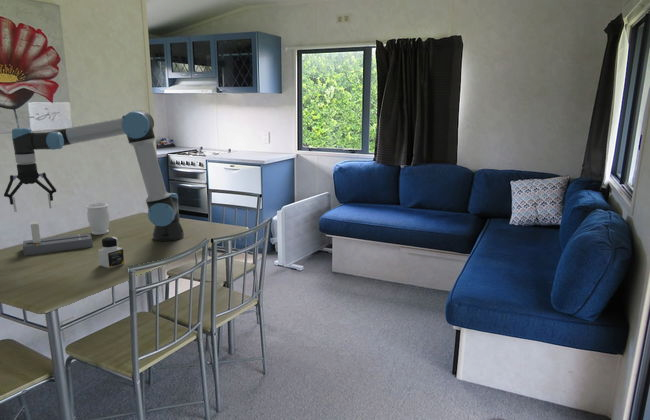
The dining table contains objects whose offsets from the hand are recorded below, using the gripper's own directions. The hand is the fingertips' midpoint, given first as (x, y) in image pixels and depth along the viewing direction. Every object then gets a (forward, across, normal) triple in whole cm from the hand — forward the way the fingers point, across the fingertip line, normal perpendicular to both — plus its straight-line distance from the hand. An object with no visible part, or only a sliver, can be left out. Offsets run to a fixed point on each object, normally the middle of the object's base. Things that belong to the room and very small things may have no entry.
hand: (33, 209), depth 214 cm
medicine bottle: (+20, -27, +37) cm, 50 cm away
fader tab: (+17, 0, 0) cm, 17 cm away
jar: (+20, -28, -19) cm, 39 cm away
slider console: (+20, -8, 0) cm, 21 cm away
